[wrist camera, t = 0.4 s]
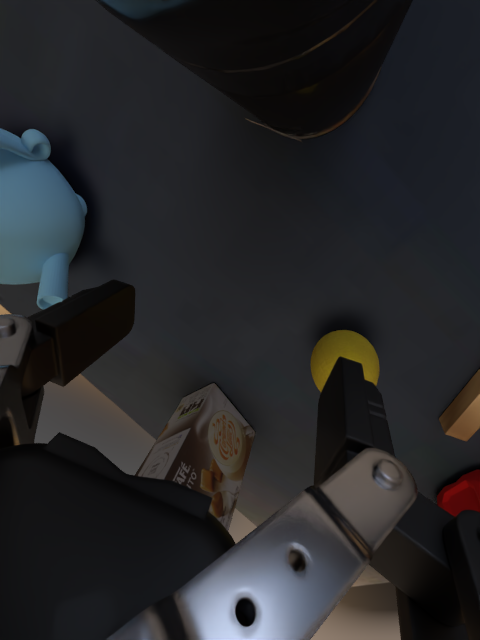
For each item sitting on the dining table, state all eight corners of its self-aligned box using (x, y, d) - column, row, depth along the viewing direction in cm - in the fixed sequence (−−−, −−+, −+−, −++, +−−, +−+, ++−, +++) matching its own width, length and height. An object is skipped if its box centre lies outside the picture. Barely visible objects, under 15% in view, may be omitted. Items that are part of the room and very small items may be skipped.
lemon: (360, 307, 27) (369, 354, 20) (381, 355, 28) (397, 415, 21) (303, 327, 29) (295, 375, 22) (326, 370, 31) (324, 428, 24)
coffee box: (180, 398, 38) (96, 525, 25) (215, 381, 35) (141, 515, 22) (222, 445, 40) (166, 588, 27) (258, 433, 37) (216, 586, 24)
